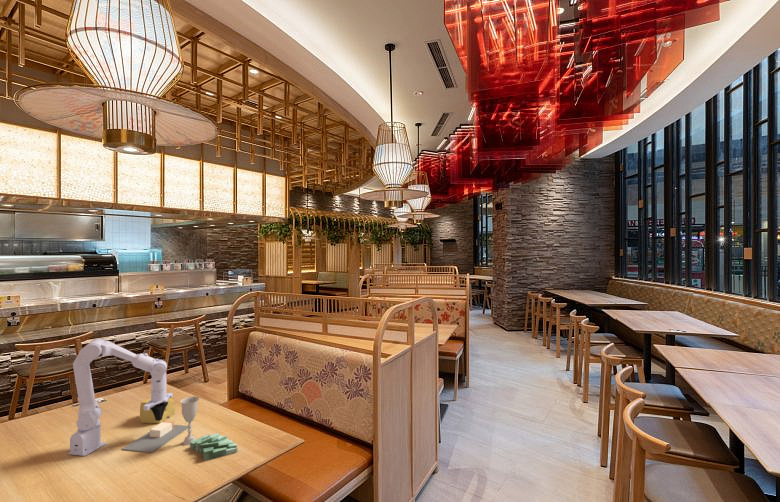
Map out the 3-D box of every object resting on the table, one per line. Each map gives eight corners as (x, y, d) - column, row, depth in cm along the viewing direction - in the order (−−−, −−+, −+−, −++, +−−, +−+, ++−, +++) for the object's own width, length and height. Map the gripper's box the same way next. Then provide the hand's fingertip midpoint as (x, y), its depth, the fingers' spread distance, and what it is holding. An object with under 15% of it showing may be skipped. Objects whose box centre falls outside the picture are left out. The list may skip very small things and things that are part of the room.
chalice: (190, 447, 152) (190, 404, 152) (176, 445, 154) (176, 402, 153) (202, 438, 159) (202, 397, 159) (188, 436, 161) (189, 395, 161)
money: (180, 454, 148) (180, 442, 147) (214, 436, 163) (214, 425, 162) (218, 466, 140) (218, 453, 140) (249, 445, 155) (249, 433, 155)
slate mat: (152, 452, 148) (152, 451, 148) (121, 449, 150) (121, 448, 150) (189, 426, 170) (189, 426, 170) (162, 424, 172) (162, 423, 172)
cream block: (160, 430, 159) (173, 422, 167) (149, 429, 160) (163, 421, 168) (160, 437, 159) (173, 428, 167) (149, 436, 160) (163, 427, 168)
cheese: (175, 414, 183) (175, 394, 182) (159, 424, 172) (159, 403, 172) (155, 413, 184) (155, 393, 184) (138, 423, 173) (138, 402, 173)
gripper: (154, 396, 154) (153, 428, 154) (178, 383, 168) (178, 413, 168) (139, 395, 155) (138, 427, 155) (165, 382, 169) (164, 412, 169)
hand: (158, 419), depth 162 cm, fingers closed
